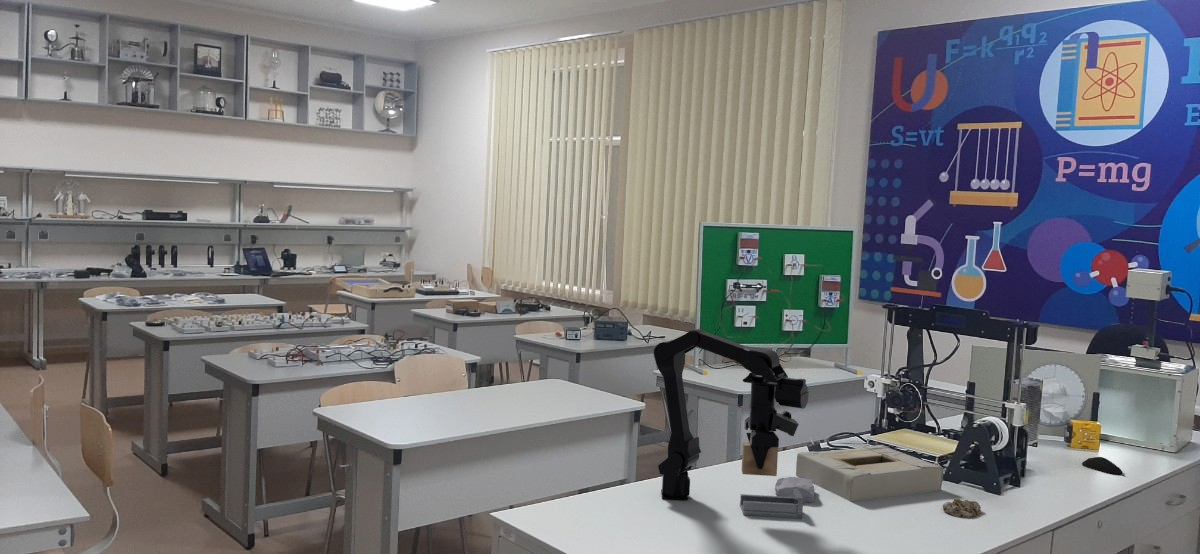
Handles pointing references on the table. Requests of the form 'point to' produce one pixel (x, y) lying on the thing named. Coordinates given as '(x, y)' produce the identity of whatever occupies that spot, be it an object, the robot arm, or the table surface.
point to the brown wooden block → (750, 463)
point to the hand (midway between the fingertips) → (759, 466)
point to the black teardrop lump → (1102, 465)
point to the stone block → (789, 483)
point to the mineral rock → (962, 508)
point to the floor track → (772, 505)
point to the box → (868, 472)
